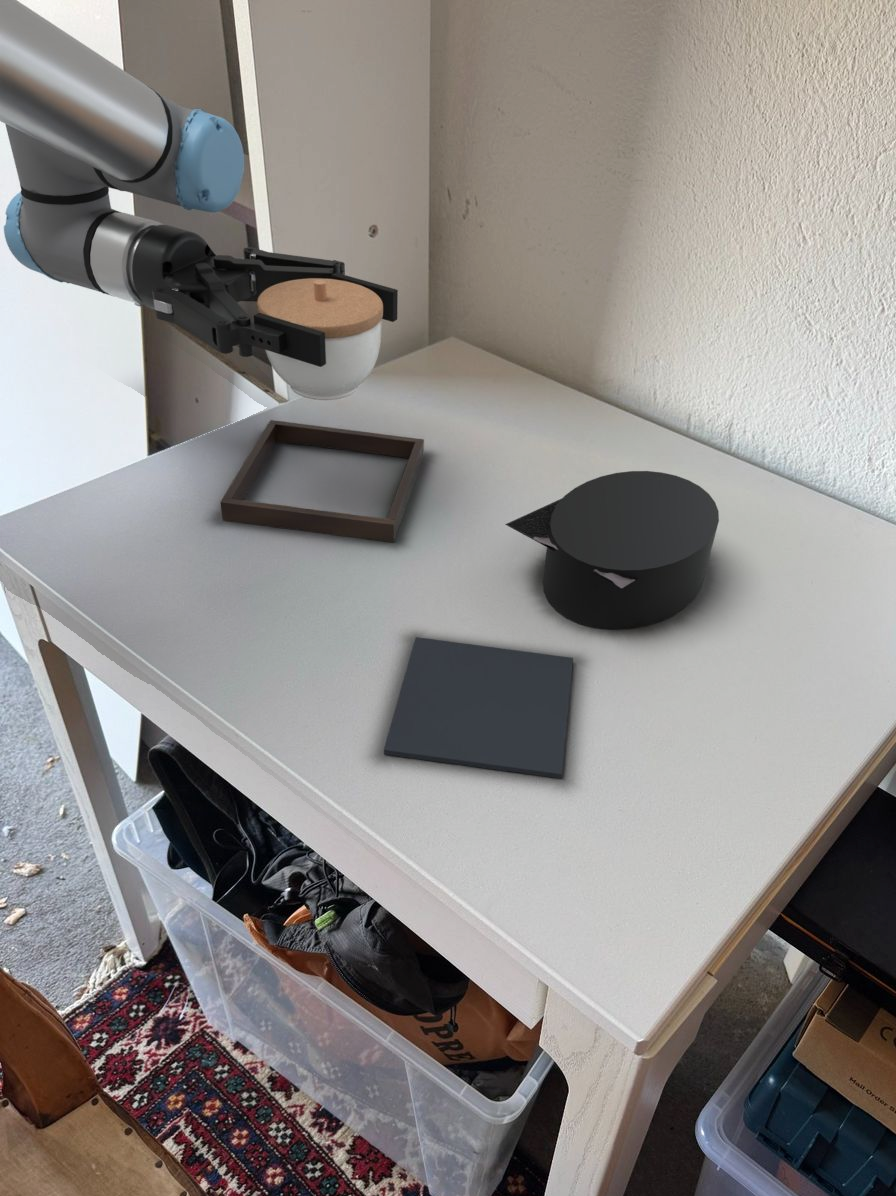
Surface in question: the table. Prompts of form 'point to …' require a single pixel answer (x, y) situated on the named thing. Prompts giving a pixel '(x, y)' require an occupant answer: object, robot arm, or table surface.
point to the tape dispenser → (624, 548)
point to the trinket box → (327, 333)
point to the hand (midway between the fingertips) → (360, 327)
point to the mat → (483, 708)
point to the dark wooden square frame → (318, 519)
